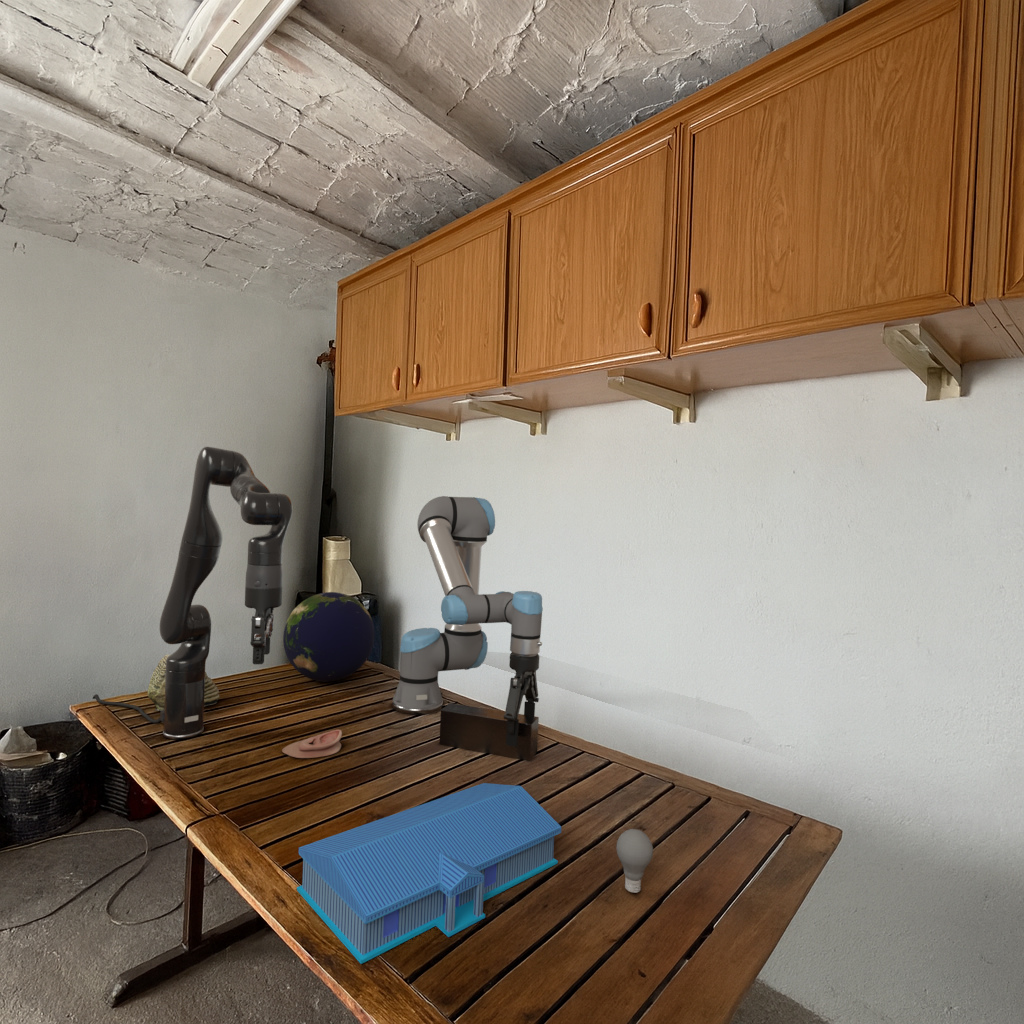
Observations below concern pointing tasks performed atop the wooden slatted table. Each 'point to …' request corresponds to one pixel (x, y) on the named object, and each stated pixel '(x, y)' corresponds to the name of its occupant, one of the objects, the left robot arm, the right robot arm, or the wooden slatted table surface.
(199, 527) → the left robot arm
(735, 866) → the wooden slatted table surface
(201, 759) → the wooden slatted table surface
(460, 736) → the box
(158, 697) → the fossil
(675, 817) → the wooden slatted table surface
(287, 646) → the globe
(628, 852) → the light bulb
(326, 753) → the anatomical model
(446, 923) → the model building
